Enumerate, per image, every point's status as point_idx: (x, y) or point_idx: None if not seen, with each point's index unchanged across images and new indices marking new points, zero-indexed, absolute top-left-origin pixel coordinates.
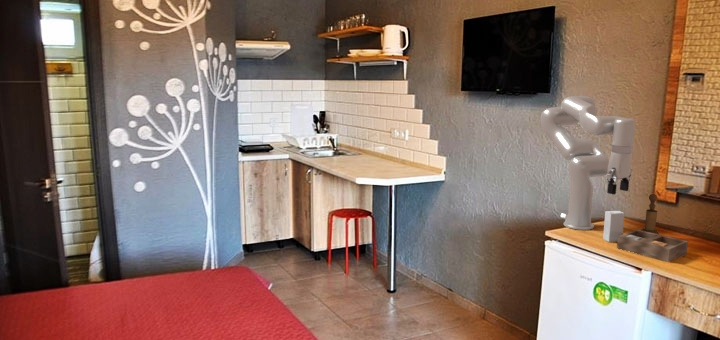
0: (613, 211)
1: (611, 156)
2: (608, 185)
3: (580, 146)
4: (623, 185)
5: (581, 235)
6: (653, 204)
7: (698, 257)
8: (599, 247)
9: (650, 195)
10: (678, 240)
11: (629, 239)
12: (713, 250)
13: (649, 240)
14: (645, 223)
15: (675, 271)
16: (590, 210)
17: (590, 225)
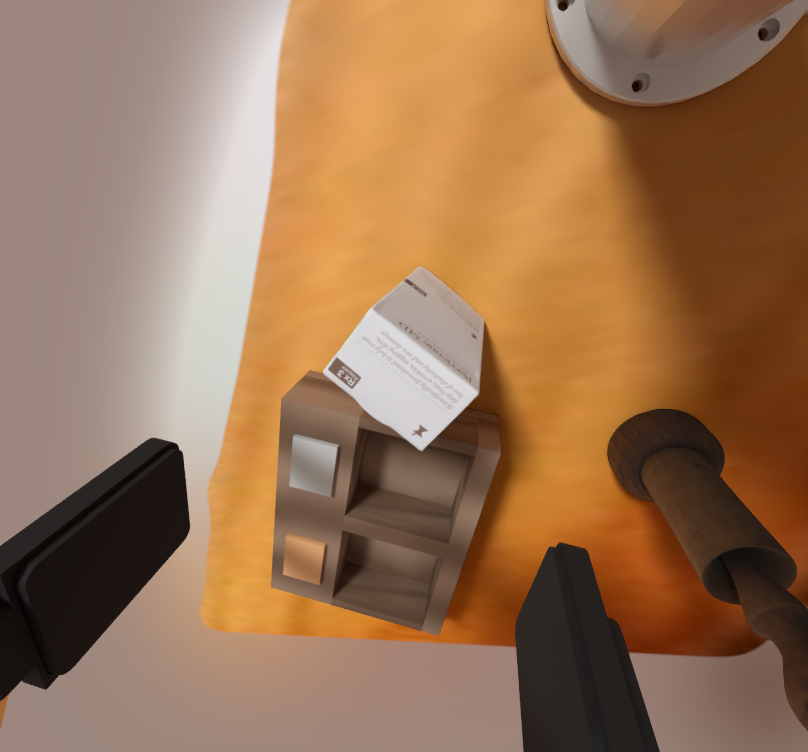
0: (403, 373)
1: None
2: (28, 537)
3: None
4: (545, 670)
5: (413, 116)
6: (769, 638)
7: None
8: (264, 299)
9: None
10: (428, 607)
11: (279, 451)
12: None
13: (328, 522)
14: (678, 474)
15: (225, 563)
16: (742, 1)
17: (678, 68)
